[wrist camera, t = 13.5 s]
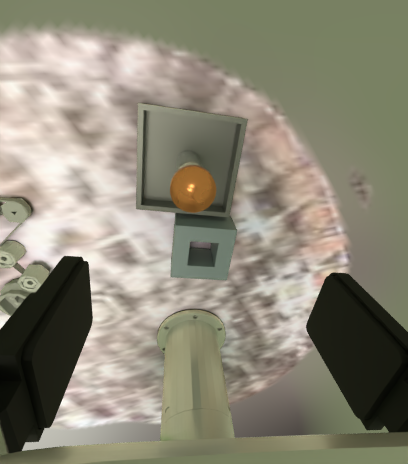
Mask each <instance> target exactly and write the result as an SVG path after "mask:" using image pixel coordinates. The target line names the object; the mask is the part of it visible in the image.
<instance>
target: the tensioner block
mask: <svg viewBox="0 0 408 464" xmlns="http://www.w3.org/2000/svg"><path fill="white" fill-rule="evenodd" d="M236 234H237V229H236V227H235V225H234V223H233V220H232V218H231V216H230V215H229V217H219V216H208V215H197V214H186V213H175V224H174V235H173V246H172V257H171V277H175V278H194V279H213V280H227V276H228V271H229V267H230V262H231V257H232V253H233V248H234V243H235V238H236ZM190 241H194V242H208V243H211V248H210V249H204V248H189V247H190Z"/></svg>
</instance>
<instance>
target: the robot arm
mask: <svg viewBox="0 0 408 464" xmlns="http://www.w3.org/2000/svg"><path fill="white" fill-rule="evenodd" d="M92 319H93V316H92V303H91V290H90V277H89V264H88V262H87V261H83V258H82V257H74V256H64V257H63V258H62V259H61V260H60V262H59V263H58V264H57V265H56V267H55V268H54V269H53V271H52V272H51V273H50V275H49V276H48V277H47V278H46V280H45V281H44V282H43V284H42V285H41V286H40V287H39V289H38V290H37V291H36V292H32V293H30V294H29V295H28V296H27V297H26V298H25V299H24V301H23V302H22V303H21V304H20V306H19V307H18V308H17V309H16V311H15V312H14V313H13V314H12V316H11V317H10V318H9V319H8V321H7V322H6V323H5V324H4V326H3V327H2V328H1V329H0V464H408V332H407V331H406V330H405V329H404V328H403V327H402V326H401V325H400V324H399V323H398V322H397V321H396V320H395V319H394V318H393V317H392V316H391V315H390V314H389V313H388V312H387V311H386V310H385V309H384V308H383V307H382V306H381V305H380V304H379V303H378V302H377V301H375V300H374V299H373V298H372V297H371V296H370V295H369V294H368V293H367V292H366V291H365V290H364V289H363V288H362V287H361V286H360V285H359V284H358V283H357V282H356V281H355V280H354V279H353V278H352V277H351V276H350V275H349V274H346V273H331V274H330V275H329V276H327V277H326V279H325V281H324V283H323V286H322V288H321V290H320V293H319V295H318V298H317V300H316V302H315V305H314V307H313V310H312V312H311V314H310V317H309V319H308V322H307V325H306V329H307V332H308V334H309V336H310V338H311V339H312V341H313V343H314V345H315V346H316V348H317V350H318V352H319V353H320V355H321V357H322V359H323V360H324V362H325V364H326V366H327V367H328V369H329V371H330V373H331V374H332V376H333V378H334V380H335V381H336V383H337V384H338V386H339V388H340V390H341V392H342V393H343V395H344V397H345V399H346V400H347V402H348V404H349V406H350V407H351V409H352V411H353V413H354V414H355V415H356V417H358V418H359V419H360V420H361V421H362V423H363V425H364V426H365V428H366V430H381V429H382V428H383V427H384V426H385V427H386V428H387V429H388V431H389V433H361V434H329V435H301V436H273V437H246V438H235V437H234V430H233V425H232V419H231V413H230V407H229V401H228V395H227V389H226V383H225V378H224V372H223V366H222V360H221V354H220V348H221V347H222V345H223V344H224V341H225V336H226V334H225V329H224V325H223V323H222V322H221V320H220V319H219V318H218V317H216V316H215V315H213V314H211V313H209V312H206V311H202V310H186V311H181V312H178V313H176V314H173V315H172V316H170V317H168V318H167V319H166V320H165V321H164V322H163V323H162V324H161V326H160V328H159V330H158V334H157V343H158V346H159V348H160V350H161V351H162V352H163V353H164V354H165V361H164V380H163V398H162V417H161V436H160V441H150V442H127V443H112V444H96V445H79V446H63V447H53V448H45V449H36V450H27V451H22V449H23V446H24V444H25V442H39V440H40V438H41V435H42V433H43V430H44V428H50V427H51V425H52V423H53V421H54V419H55V416H56V414H57V411H58V409H59V406H60V404H61V401H62V399H63V396H64V394H65V391H66V389H67V386H68V384H69V381H70V379H71V376H72V374H73V371H74V369H75V366H76V363H77V361H78V358H79V356H80V353H81V351H82V348H83V346H84V343H85V341H86V338H87V336H88V333H89V331H90V328H91V325H92Z"/></svg>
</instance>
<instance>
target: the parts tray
mask: <svg viewBox="0 0 408 464" xmlns="http://www.w3.org/2000/svg"><path fill="white" fill-rule="evenodd" d="M247 120H248V119H245V118H239V117H232V116H225V115H218V114H211V113H205V112H198V111H191V110H184V109H178V108H171V107H164V106H157V105H150V104H144V103H138V130H137V189H136V209H141V210H152V211H163V212H174V213H186V214H197V215H208V216H219V217H229V214H230V209H231V204H232V199H233V193H234V188H235V183H236V178H237V172H238V167H239V162H240V157H241V152H242V146H243V141H244V136H245V131H246V125H247ZM184 151H192V152H194V153H196V154H197V156H198V157H199V159H200V162H201V164H202V167H203V168H205V169H206V170H208V171H209V173H210V174H211V175H212V177H213V179H214V181H215V184H216V196H215V199H214V201H213V202H212V204H211V205H210V206H209V207H208V208H206V209H205V210H203V211H200V212H196V213H190V212H186V211H183V210H181V209H180V208H178V207H177V206H176V205H175V204H174V202H173V201H172V198H171V195H170V184H171V180H172V177H173V175H174V174H175V173H176V168H177V158H178V156H179V155H180V154H181V153H182V152H184Z"/></svg>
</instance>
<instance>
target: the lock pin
mask: <svg viewBox="0 0 408 464" xmlns="http://www.w3.org/2000/svg"><path fill="white" fill-rule="evenodd" d="M170 195H171V198H172V201H173V202H174V204H175V205H176V206H177V207H178V208H180V209H181V210H183V211H186V212H190V213H196V212H200V211H203V210H205V209H206V208H208V207H209V206H210V205H211V204H212V202H213V201H214V199H215V196H216V184H215V181H214V179H213V177H212V175H211V174H210V173H209V171H208V170H206V169H205V168H203V167H202V164H201V162H200V159H199V157H198V156H197V154H196V153H194V152H192V151H184V152H182V153H181V154H180V155H179V156H178V158H177V168H176V173H175V174H174V175H173V177H172V180H171V184H170Z"/></svg>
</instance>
